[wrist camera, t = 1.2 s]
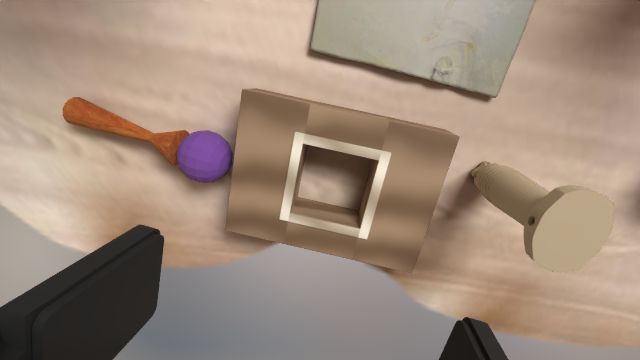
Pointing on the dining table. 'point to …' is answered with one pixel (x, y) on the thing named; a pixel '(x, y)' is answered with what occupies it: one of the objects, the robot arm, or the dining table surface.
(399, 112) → the dining table surface
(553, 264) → the handle
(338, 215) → the brown flat block
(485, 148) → the dining table surface
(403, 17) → the decorative slab
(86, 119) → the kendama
